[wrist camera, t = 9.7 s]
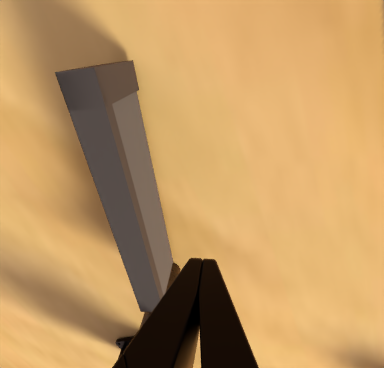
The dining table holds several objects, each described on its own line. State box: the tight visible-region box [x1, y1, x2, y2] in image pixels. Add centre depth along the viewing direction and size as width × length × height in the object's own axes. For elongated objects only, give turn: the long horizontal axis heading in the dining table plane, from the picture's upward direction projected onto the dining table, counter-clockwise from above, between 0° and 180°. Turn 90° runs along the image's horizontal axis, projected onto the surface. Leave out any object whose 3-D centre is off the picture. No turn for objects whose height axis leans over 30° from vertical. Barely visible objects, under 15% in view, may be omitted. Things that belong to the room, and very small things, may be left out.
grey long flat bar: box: [55, 60, 173, 312], centre depth 18 cm, size 18×2×5 cm, turn 7°
